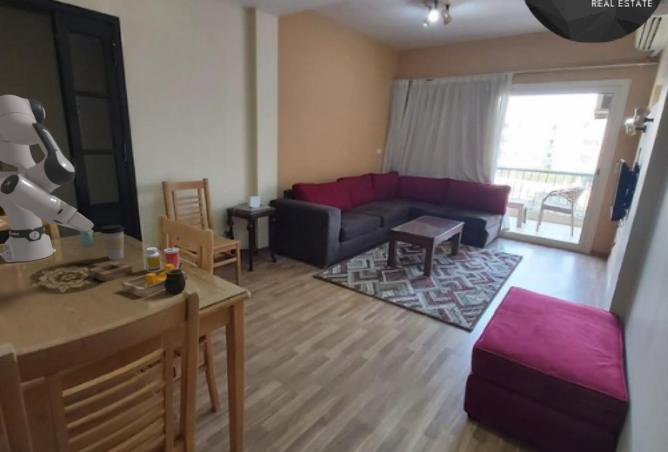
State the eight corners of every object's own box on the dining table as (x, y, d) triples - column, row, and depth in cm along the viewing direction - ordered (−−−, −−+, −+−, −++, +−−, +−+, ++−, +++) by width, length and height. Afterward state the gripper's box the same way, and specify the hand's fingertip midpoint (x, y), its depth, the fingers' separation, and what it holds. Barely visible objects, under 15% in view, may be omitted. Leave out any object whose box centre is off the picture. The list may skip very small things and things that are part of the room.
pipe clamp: (165, 278, 142) (164, 263, 140) (174, 279, 141) (173, 264, 140) (144, 290, 131) (142, 274, 129) (153, 291, 130) (152, 275, 128)
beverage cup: (177, 272, 148) (174, 240, 145) (162, 271, 148) (159, 240, 145) (183, 266, 154) (180, 236, 151) (169, 266, 154) (166, 236, 151)
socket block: (89, 276, 141) (88, 269, 140) (116, 267, 151) (115, 261, 150) (105, 281, 136) (104, 274, 136) (132, 272, 146) (131, 266, 145)
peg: (80, 246, 134) (76, 220, 132) (90, 243, 138) (86, 219, 135) (85, 247, 133) (81, 222, 130) (95, 245, 136) (91, 220, 134)
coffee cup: (117, 261, 157) (113, 230, 154) (99, 260, 159) (94, 228, 155) (132, 255, 166) (128, 224, 163) (114, 253, 168) (110, 223, 164)
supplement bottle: (163, 269, 150) (161, 248, 148) (151, 273, 146) (149, 251, 143) (155, 266, 153) (153, 245, 151) (143, 270, 149) (141, 249, 146)
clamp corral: (123, 290, 130) (122, 283, 129) (168, 273, 146) (167, 266, 146) (142, 297, 125) (141, 289, 124) (187, 279, 141) (186, 272, 141)
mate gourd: (160, 294, 128) (158, 269, 125) (172, 286, 135) (170, 262, 132) (178, 296, 127) (176, 270, 124) (190, 287, 134) (188, 263, 132)
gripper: (33, 214, 127) (67, 234, 138) (63, 222, 118) (97, 243, 129) (45, 201, 130) (78, 221, 140) (75, 207, 121) (108, 228, 131)
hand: (87, 231), depth 134 cm, fingers closed on peg, 4 cm apart
